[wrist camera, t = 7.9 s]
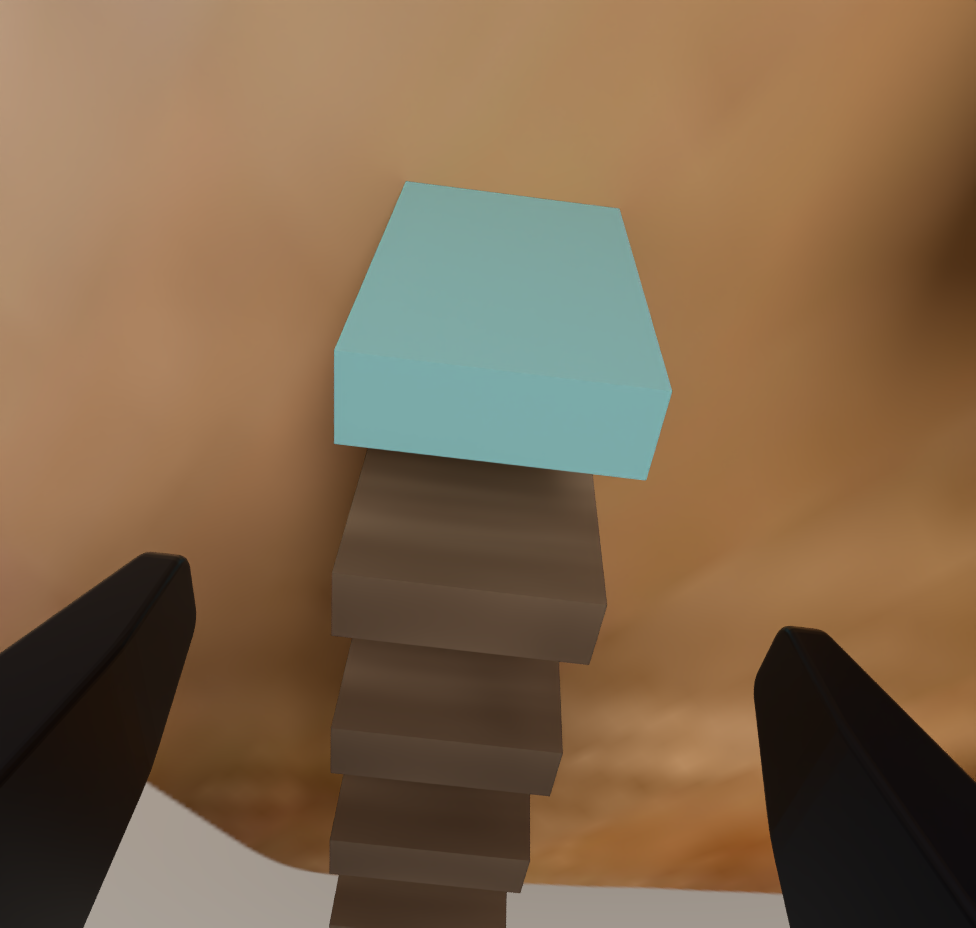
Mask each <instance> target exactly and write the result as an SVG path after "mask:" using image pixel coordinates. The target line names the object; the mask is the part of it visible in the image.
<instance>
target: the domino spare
mask: <svg viewBox="0 0 976 928" xmlns="http://www.w3.org/2000/svg"><path fill="white" fill-rule="evenodd" d="M671 393H672V389H671V386H670V382H669V379H668V375H667V372H666V368H665V365H664V361H663V358H662V355H661V351H660V348H659V344H658V341H657V337H656V334H655V330H654V327H653V323H652V320H651V316H650V313H649V310H648V306H647V303H646V299H645V296H644V292H643V289H642V285H641V282H640V278H639V275H638V271H637V268H636V265H635V261H634V258H633V254H632V251H631V247H630V244H629V240H628V237H627V233H626V230H625V226H624V223H623V220H622V216H621V213H620V209H618V208H610V207H602V206H594V205H587V204H579V203H571V202H563V201H556V200H548V199H540V198H532V197H525V196H517V195H509V194H501V193H493V192H486V191H478V190H470V189H462V188H455V187H447V186H439V185H431V184H424V183H416V182H408V181H406V182H405V185H404V187H403V189H402V192H401V194H400V196H399V199H398V201H397V203H396V206H395V208H394V211H393V213H392V215H391V218H390V220H389V222H388V225H387V227H386V229H385V232H384V234H383V236H382V239H381V241H380V244H379V246H378V248H377V251H376V253H375V255H374V258H373V260H372V262H371V265H370V267H369V269H368V272H367V274H366V277H365V279H364V281H363V284H362V286H361V288H360V291H359V293H358V295H357V298H356V300H355V302H354V305H353V307H352V310H351V312H350V314H349V317H348V319H347V321H346V324H345V326H344V328H343V331H342V333H341V335H340V338H339V340H338V343H337V345H336V347H335V350H334V444H340V445H349V446H357V447H366V448H374V449H383V450H391V451H400V452H408V453H417V454H425V455H434V456H442V457H451V458H459V459H468V460H477V461H485V462H494V463H502V464H511V465H519V466H528V467H536V468H545V469H553V470H562V471H570V472H579V473H587V474H596V475H604V476H613V477H622V478H630V479H639V480H646V479H647V475H648V472H649V469H650V465H651V462H652V458H653V455H654V451H655V448H656V445H657V441H658V438H659V434H660V431H661V428H662V424H663V421H664V417H665V414H666V411H667V407H668V404H669V400H670V397H671Z"/></svg>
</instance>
